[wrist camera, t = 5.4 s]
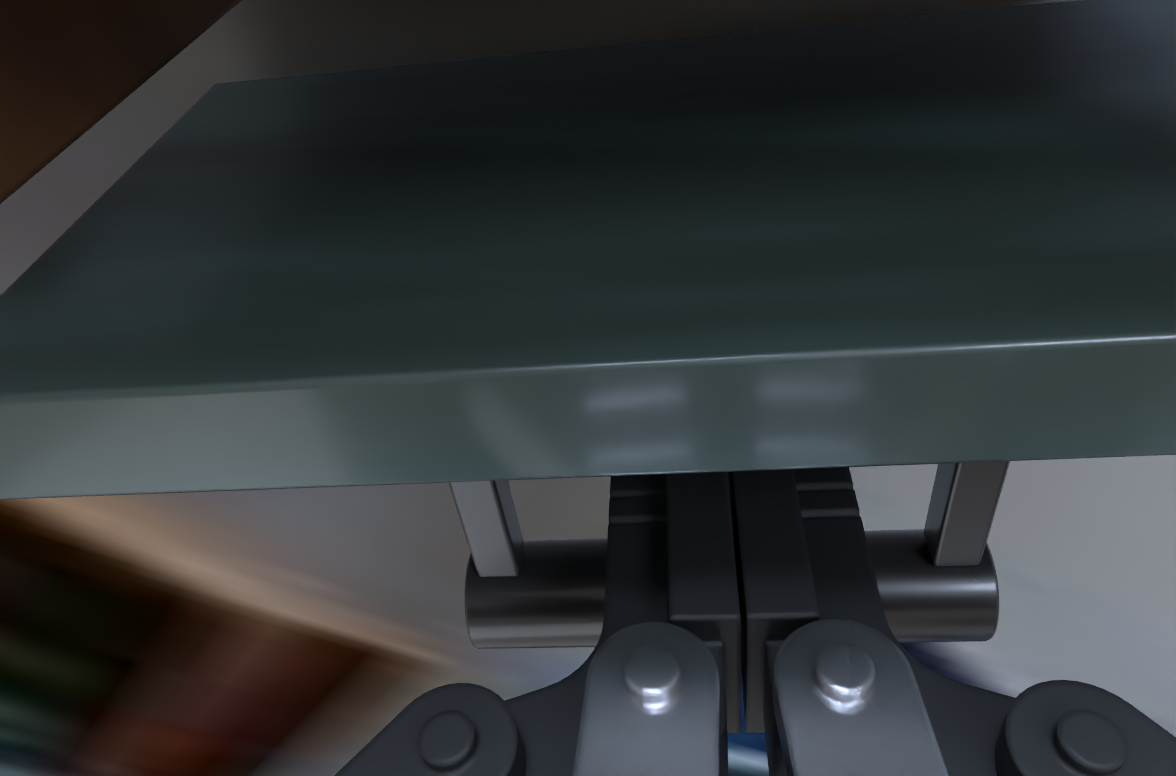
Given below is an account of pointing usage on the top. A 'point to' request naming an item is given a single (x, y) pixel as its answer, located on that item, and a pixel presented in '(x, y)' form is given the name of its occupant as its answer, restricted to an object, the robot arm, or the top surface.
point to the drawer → (608, 276)
